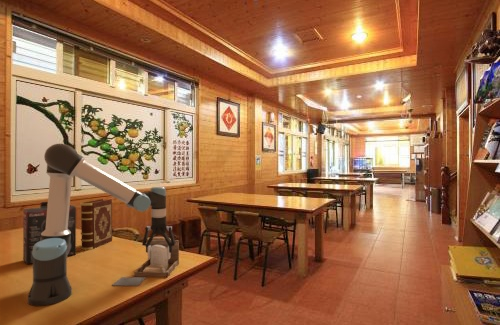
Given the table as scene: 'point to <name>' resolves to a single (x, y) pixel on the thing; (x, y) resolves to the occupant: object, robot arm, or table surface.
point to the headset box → (42, 229)
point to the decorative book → (96, 223)
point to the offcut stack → (154, 268)
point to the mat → (129, 281)
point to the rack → (172, 260)
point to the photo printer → (159, 256)
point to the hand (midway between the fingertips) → (159, 258)
